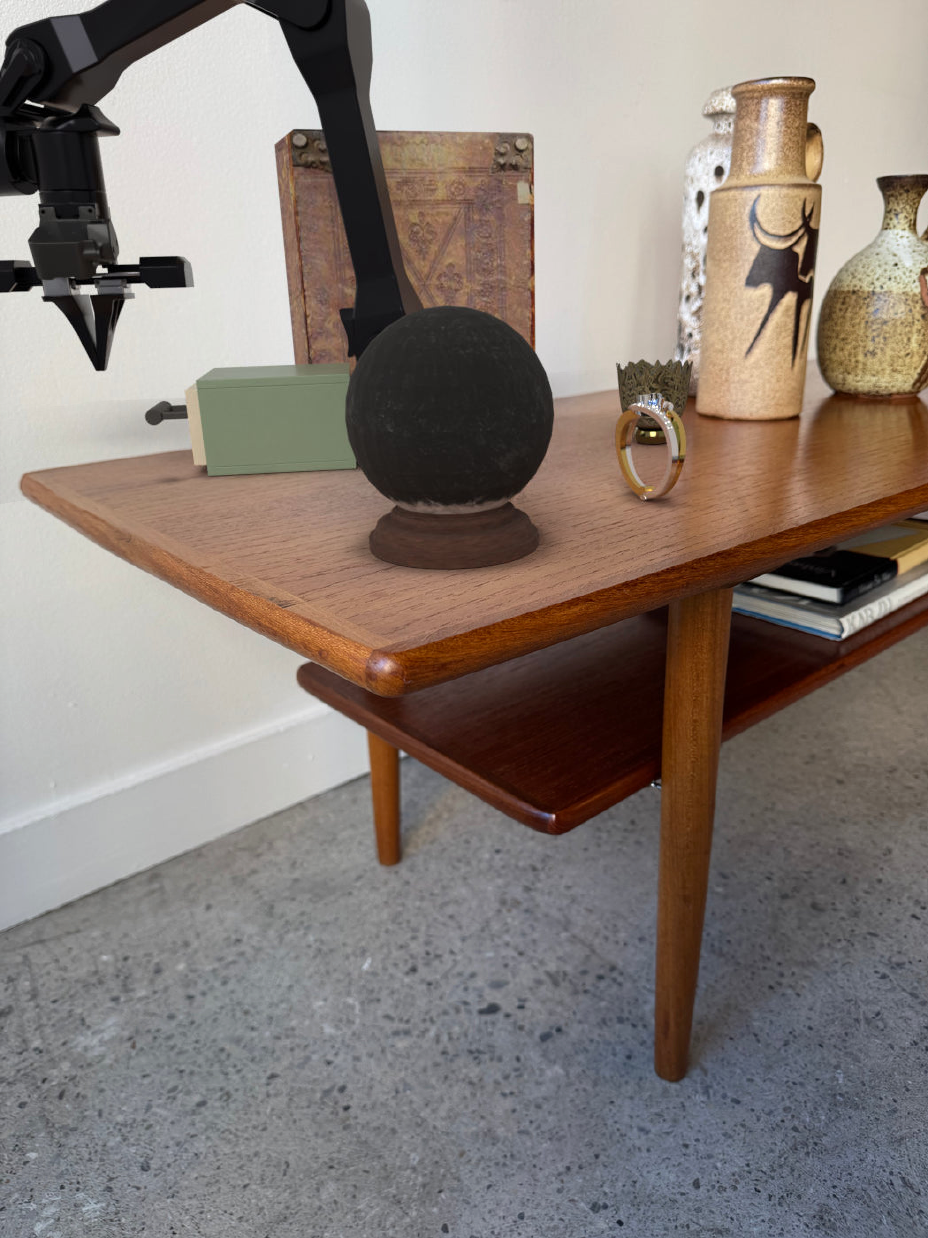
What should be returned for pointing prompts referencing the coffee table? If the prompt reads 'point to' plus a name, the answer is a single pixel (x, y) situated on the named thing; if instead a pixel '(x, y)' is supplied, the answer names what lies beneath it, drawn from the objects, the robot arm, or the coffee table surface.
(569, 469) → the coffee table surface
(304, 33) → the robot arm
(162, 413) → the drawer
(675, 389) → the cup
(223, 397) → the cabinet
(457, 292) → the book
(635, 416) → the ring
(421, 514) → the black ball on stand
